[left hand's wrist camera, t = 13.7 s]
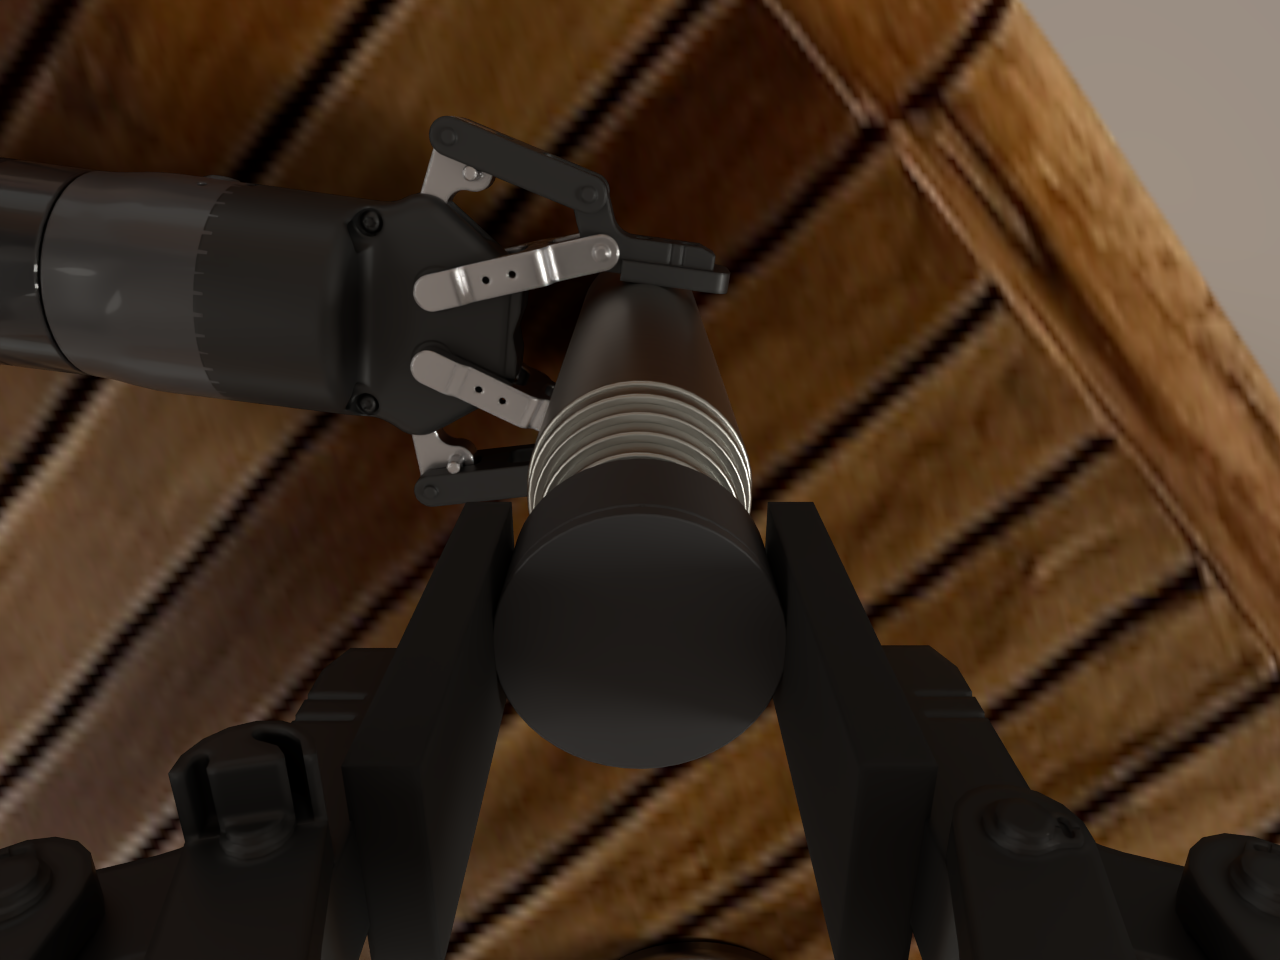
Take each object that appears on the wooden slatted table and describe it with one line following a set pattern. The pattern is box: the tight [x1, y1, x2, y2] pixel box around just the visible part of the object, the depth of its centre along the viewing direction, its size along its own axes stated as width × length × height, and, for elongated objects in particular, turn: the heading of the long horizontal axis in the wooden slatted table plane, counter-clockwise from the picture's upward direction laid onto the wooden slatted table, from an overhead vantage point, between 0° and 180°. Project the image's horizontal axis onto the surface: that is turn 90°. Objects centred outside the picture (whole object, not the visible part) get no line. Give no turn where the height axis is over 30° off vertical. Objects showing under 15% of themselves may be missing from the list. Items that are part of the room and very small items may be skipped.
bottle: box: [527, 271, 752, 515], centre depth 25 cm, size 5×5×25 cm
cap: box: [493, 459, 787, 769], centre depth 14 cm, size 4×4×2 cm
